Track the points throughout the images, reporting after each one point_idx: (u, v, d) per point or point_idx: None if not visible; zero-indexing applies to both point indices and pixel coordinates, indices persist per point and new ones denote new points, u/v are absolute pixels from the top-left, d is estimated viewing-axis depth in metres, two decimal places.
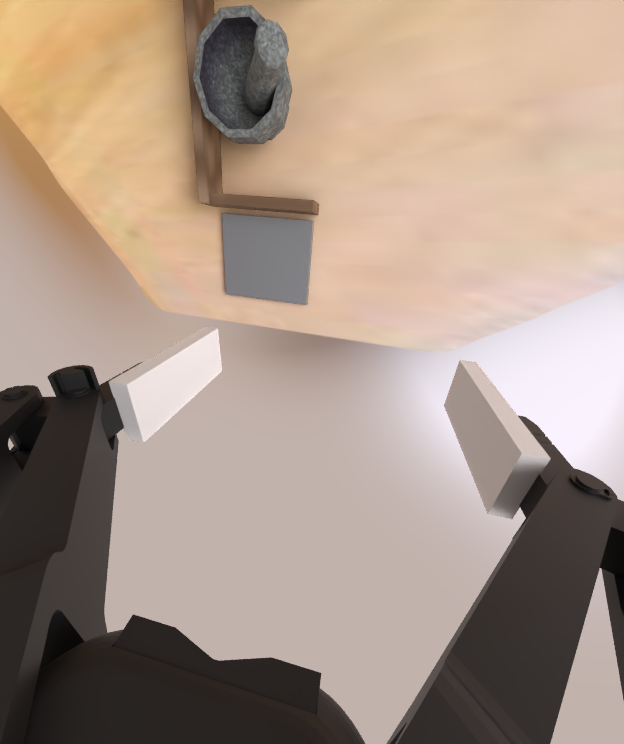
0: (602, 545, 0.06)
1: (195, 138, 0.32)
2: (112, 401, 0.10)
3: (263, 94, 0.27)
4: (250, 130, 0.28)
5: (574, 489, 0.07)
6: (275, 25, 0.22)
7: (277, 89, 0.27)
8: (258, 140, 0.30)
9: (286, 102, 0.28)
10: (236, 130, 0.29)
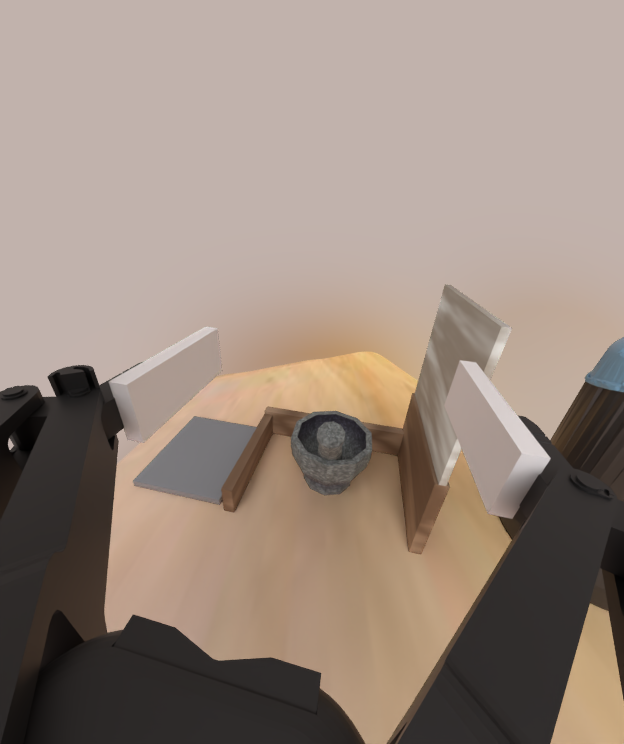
0: (602, 545, 0.06)
1: (308, 414, 0.41)
2: (112, 401, 0.10)
3: None
4: (296, 435, 0.32)
5: (574, 489, 0.07)
6: (341, 437, 0.26)
7: (319, 458, 0.29)
8: (291, 444, 0.33)
9: (314, 472, 0.30)
10: (299, 427, 0.34)
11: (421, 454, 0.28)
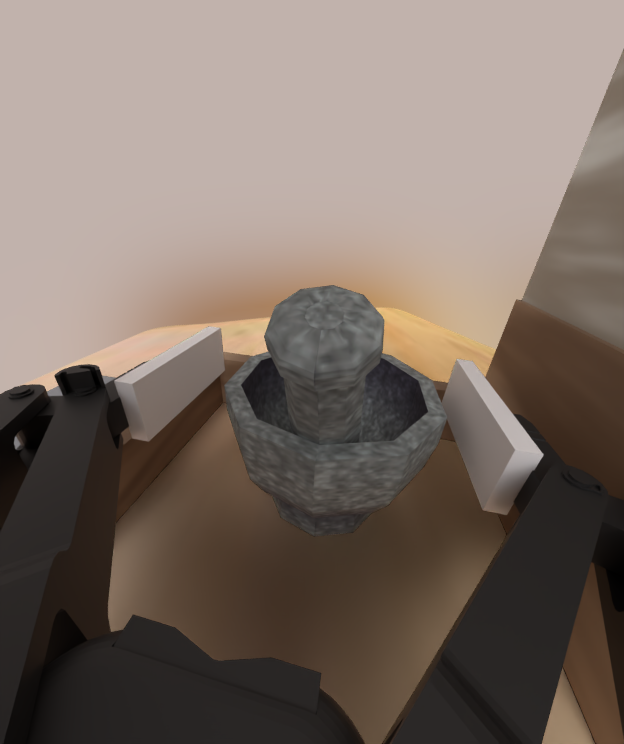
0: (594, 540, 0.06)
1: None
2: (117, 400, 0.10)
3: None
4: (239, 382, 0.12)
5: (566, 485, 0.07)
6: (369, 331, 0.06)
7: (290, 437, 0.09)
8: (227, 406, 0.13)
9: (279, 480, 0.10)
10: (253, 367, 0.14)
11: None
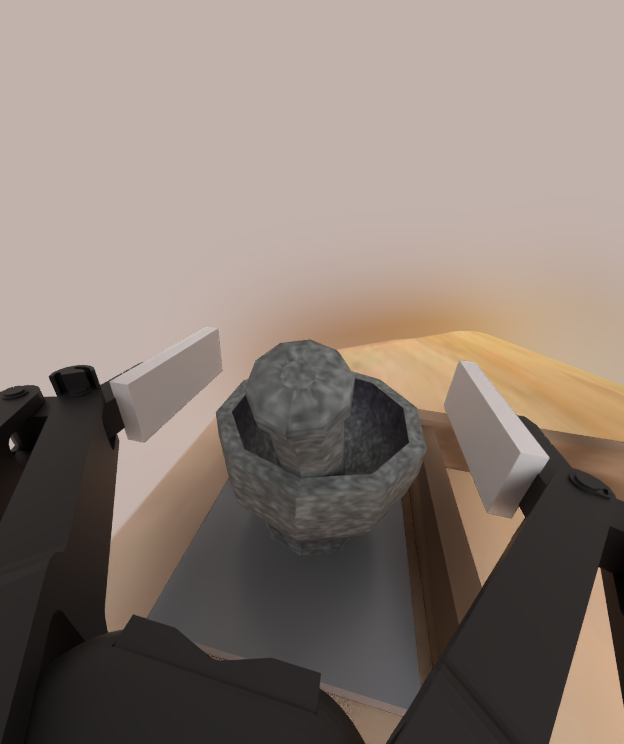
0: (601, 544, 0.06)
1: None
2: (113, 401, 0.10)
3: None
4: (230, 409, 0.13)
5: (573, 488, 0.07)
6: (338, 391, 0.06)
7: (274, 469, 0.10)
8: (218, 431, 0.13)
9: (264, 508, 0.11)
10: (245, 392, 0.14)
11: None
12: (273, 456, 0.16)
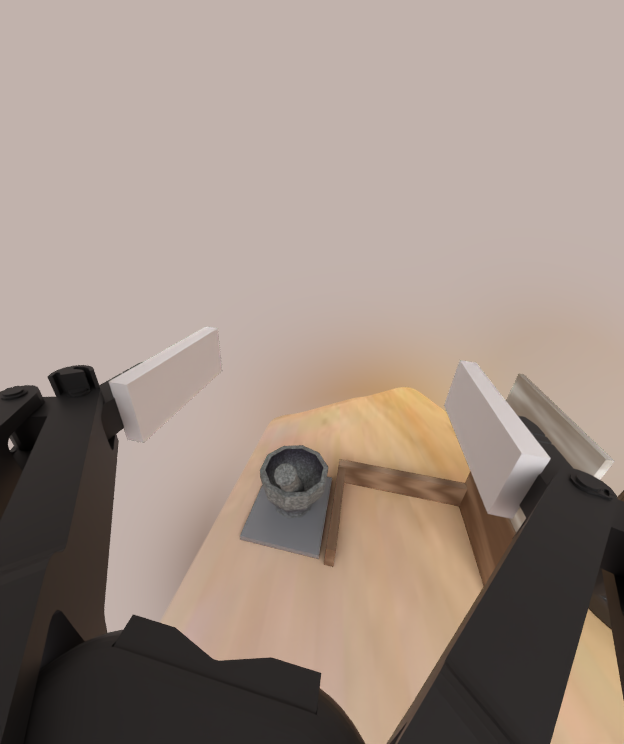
0: (602, 545, 0.06)
1: (378, 467, 0.46)
2: (112, 401, 0.10)
3: None
4: (264, 468, 0.39)
5: (574, 489, 0.07)
6: (292, 477, 0.33)
7: (279, 490, 0.36)
8: (260, 475, 0.40)
9: (276, 501, 0.37)
10: (268, 461, 0.41)
11: (500, 522, 0.33)
12: None
